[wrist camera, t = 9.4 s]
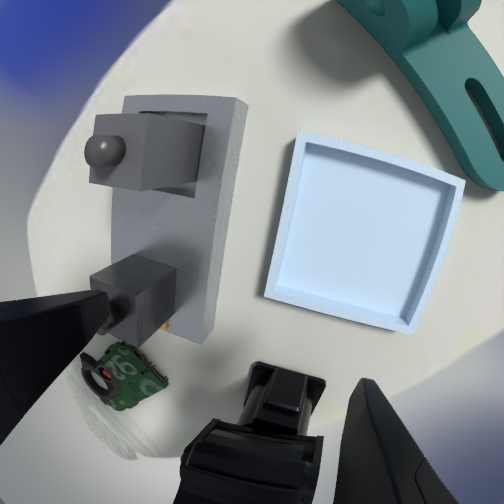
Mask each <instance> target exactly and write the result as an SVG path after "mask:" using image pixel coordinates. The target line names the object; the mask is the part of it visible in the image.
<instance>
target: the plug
mask: <svg viewBox="0 0 504 504" xmlns="http://www.w3.org/2000/svg"><path fill="white" fill-rule="evenodd" d="M205 127H206V126H205V125H201V124H196V123H192V122H188V121H183V120H179V119H174V118H169V117H165V116H160V115H154V114H147V113H138V114H103V115H96V118H95V125H94V132H93V136H92V137H90V138H89V139H88V141H87V143H86V146H85V151H84V155H85V159H86V162H87V163H88V165H90V175H89V183H94V184H100V185H105V186H111V187H117V188H122V189H127V190H133V191H138V192H141V191H146V190H151V189H156V188H162V187H167V186H173V185H179V184H185V183H191V182H197V178H198V171H199V164H200V157H201V151H202V145H203V139H204V133H205Z"/></svg>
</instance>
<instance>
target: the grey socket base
mask: <svg viewBox="0 0 504 504" xmlns="http://www.w3.org/2000/svg"><path fill="white" fill-rule="evenodd" d="M247 110H248V105H247V104H246V103H244V102H243V101H241V100H239V99H238V98H234V97H221V96H204V95H135V96H125V98H124V103H123V109H122V114H138V113H147V114H154V115H160V116H165V117H169V118H174V119H179V120H183V121H188V122H192V123H196V124H201V125H205V126H206V127H205V133H204V139H203V145H202V151H201V157H200V164H199V171H198V178H197V182H191V183H185V184H179V185H173V186H167V187H162V188H156V189H151V190H146V191H141V192H138V191H133V190H127V189H122V188H117V187H113V198H112V224H111V263H112V265H110V266H108V267H106V268H104V269H103V270H101V271H99V272H97V273H95V274H93V275H91V276H90V287H91V290H94V289H100V290H103V291H105V292H107V293H108V296H109V307H110V314H109V317H108V318H107V320H106V321H105V322H104V323H103V325H102V326H101V327H100V329H99V330H98V331H97V332H96V333H98V334H99V335H105V334H106V333H109V334H111V335H113V336H115V337H117V338H119V339H121V340H123V341H125V342H127V343H129V344H131V345H133V346H135V347H137V348H139V347H140V346H141V345H142V344H143V343H144V342H145V341H146V340H147V339H148V338H149V337H150V336H152V335H153V334H154V333H155V332H156V331H157V330H158V329H159V328H161V329H163V330H165V331H168V332H170V333H173V334H175V335H178V336H180V337H183V338H185V339H188V340H191V341H193V342H196V343H198V344H202V343H203V341H204V340H205V339H206V337H207V336H208V335H209V333H210V332H211V331H212V330H213V326H214V318H215V311H216V303H217V296H218V289H219V282H220V274H221V267H222V261H223V254H224V247H225V240H226V234H227V227H228V221H229V215H230V208H231V202H232V196H233V190H234V184H235V178H236V172H237V166H238V160H239V154H240V149H241V143H242V137H243V132H244V126H245V121H246V115H247Z"/></svg>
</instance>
